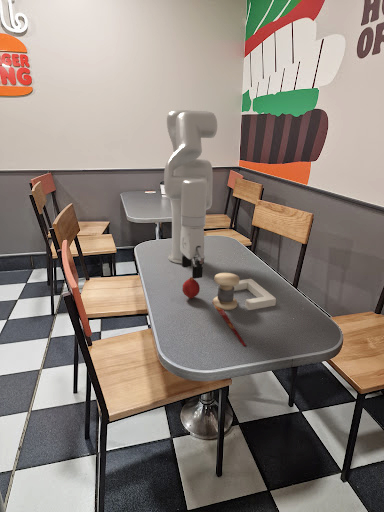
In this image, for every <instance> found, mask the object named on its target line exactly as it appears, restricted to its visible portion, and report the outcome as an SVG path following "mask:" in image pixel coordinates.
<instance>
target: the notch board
mask: <svg viewBox="0 0 384 512" xmlns="http://www.w3.org/2000/svg"><path fill="white" fill-rule="evenodd" d="M233 287H234V292H235V291H241V290H248V291H249V292H250V293H251V294H253V296H254V297H255V298H254V297H252V298H247V299H245V302H244V303H245V304H244V307H245V308H246V309H247V310H248V311H253V310H258V309H264V308H268V307H269V308H270V307H273V306H276V303H277V298H276V297H275V296H274V295H272V294H271V293H270V292H269V291H267V290H266V289H265V288H264V287H262V286H261V285H260V284H258V283H257V282H256V281H255V280H253V279H252V278H246V279H240V281H239V284H237V285H235V286H233Z"/></svg>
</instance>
